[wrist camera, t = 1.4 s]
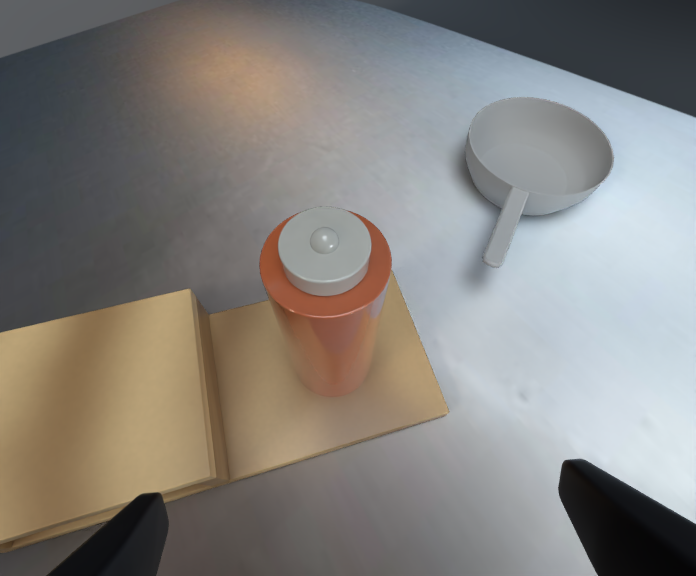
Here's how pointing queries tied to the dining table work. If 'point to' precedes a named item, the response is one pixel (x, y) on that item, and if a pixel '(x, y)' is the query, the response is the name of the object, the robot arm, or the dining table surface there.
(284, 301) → the pepper mill
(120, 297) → the dining table surface
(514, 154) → the saucepan
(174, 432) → the stand
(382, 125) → the dining table surface
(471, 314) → the dining table surface
